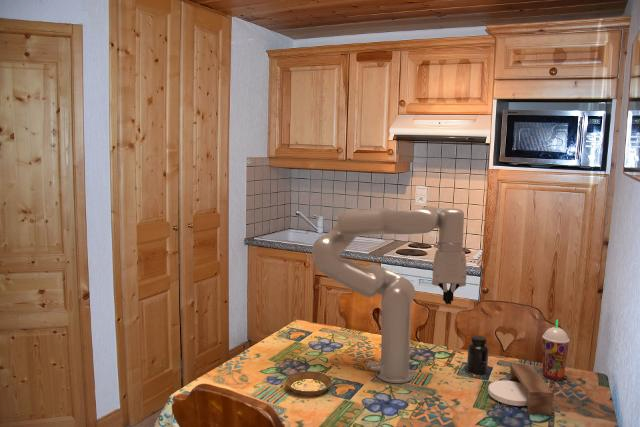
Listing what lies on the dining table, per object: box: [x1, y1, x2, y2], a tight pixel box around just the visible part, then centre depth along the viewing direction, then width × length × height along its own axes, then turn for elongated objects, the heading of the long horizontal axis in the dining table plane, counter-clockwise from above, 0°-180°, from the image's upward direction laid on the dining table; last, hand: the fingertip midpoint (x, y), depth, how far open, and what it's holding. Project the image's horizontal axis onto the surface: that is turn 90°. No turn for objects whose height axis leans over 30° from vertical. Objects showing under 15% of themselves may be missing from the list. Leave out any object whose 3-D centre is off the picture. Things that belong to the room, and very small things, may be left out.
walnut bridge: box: [509, 363, 554, 416], centre depth 162 cm, size 6×20×7 cm, turn 176°
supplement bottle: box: [466, 335, 489, 375], centre depth 182 cm, size 7×7×12 cm
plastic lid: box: [487, 379, 528, 407], centre depth 163 cm, size 14×14×2 cm
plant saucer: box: [285, 370, 333, 396], centre depth 168 cm, size 15×15×3 cm
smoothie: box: [542, 319, 570, 381], centre depth 177 cm, size 8×8×20 cm
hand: (447, 303), depth 169 cm, fingers closed
